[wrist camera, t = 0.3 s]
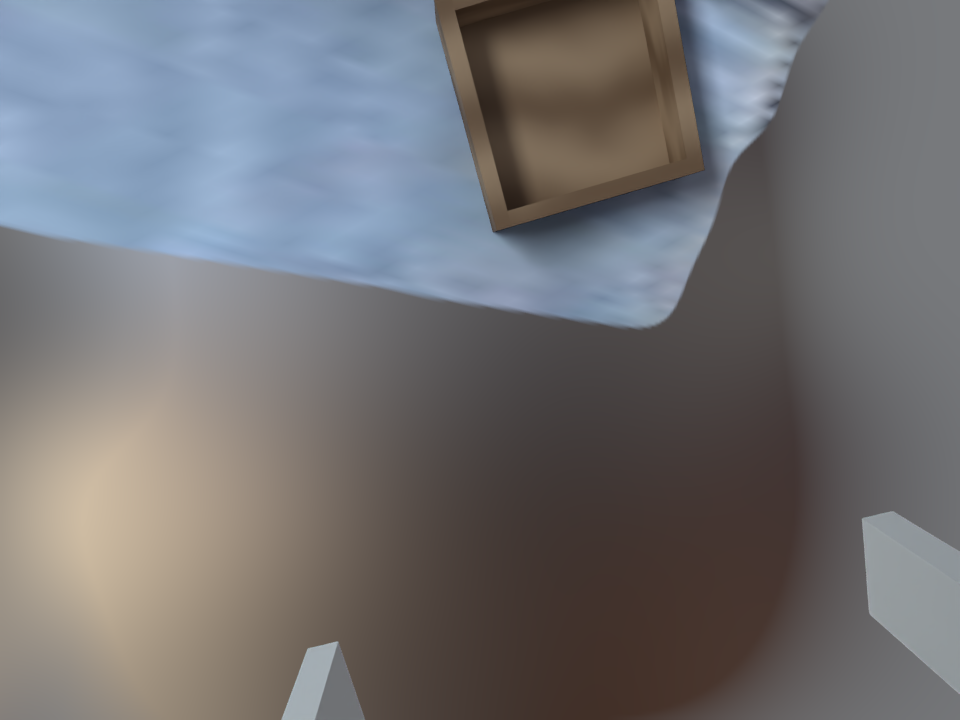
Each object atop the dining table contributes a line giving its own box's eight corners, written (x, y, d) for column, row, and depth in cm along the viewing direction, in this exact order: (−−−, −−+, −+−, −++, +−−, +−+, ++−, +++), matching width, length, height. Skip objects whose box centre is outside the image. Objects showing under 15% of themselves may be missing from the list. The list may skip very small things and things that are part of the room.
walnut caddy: (436, 21, 34) (434, -4, 31) (641, -40, 34) (661, -72, 31) (493, 232, 37) (496, 230, 34) (681, 177, 37) (704, 170, 34)
